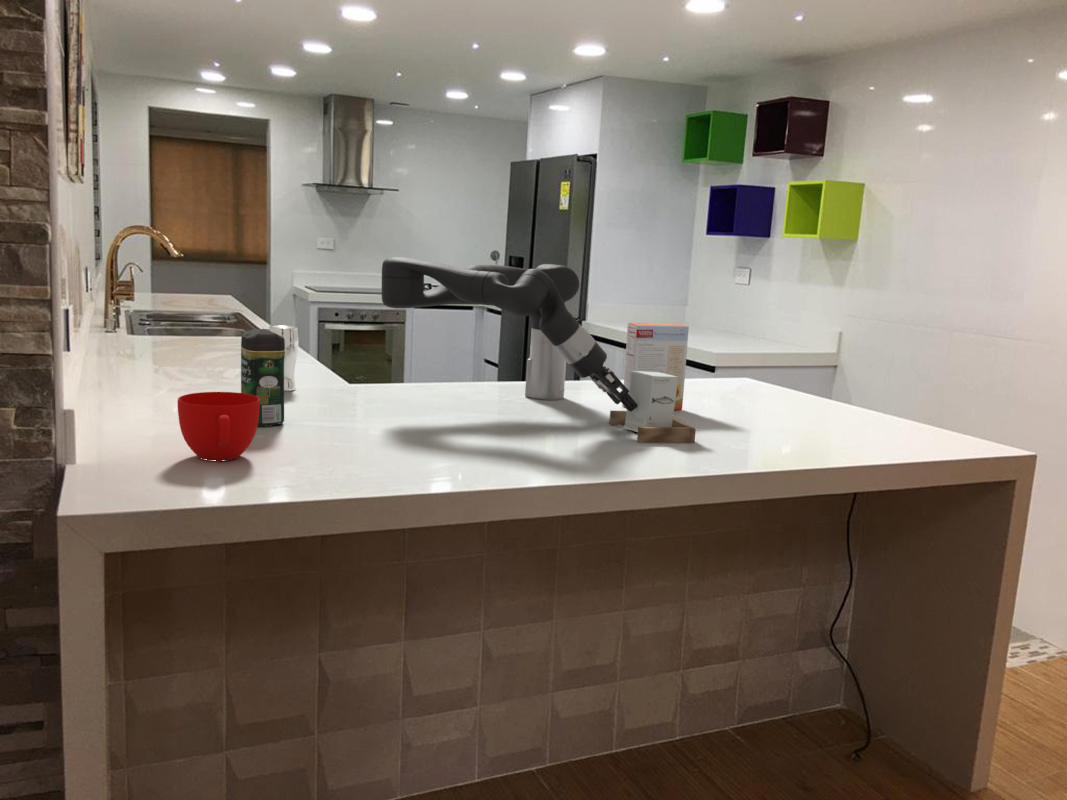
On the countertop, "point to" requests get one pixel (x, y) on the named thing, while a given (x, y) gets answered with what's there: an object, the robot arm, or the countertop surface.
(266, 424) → the coffee jar
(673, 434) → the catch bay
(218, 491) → the countertop surface
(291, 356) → the beer glass
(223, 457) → the ceramic cup
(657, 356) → the cracker box
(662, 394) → the supplement box
